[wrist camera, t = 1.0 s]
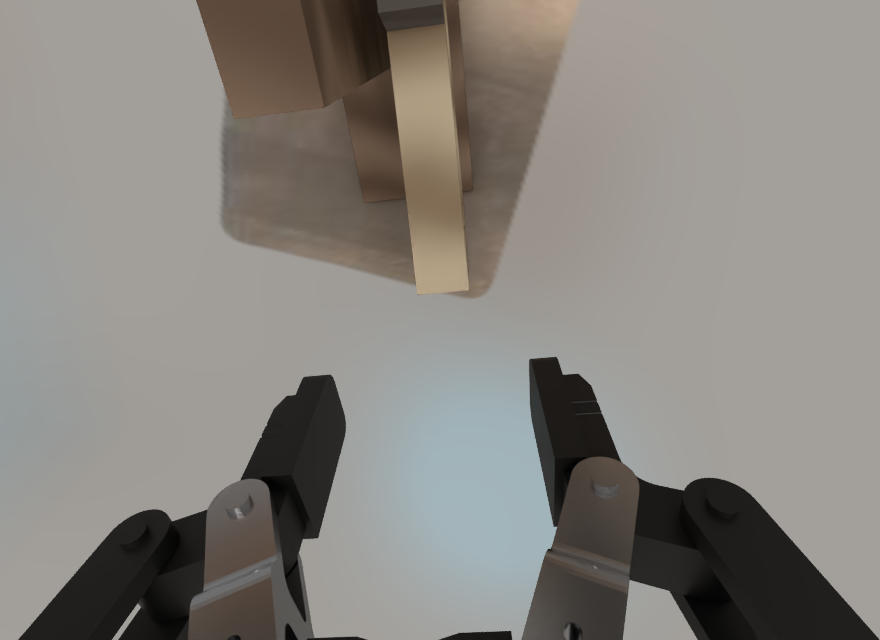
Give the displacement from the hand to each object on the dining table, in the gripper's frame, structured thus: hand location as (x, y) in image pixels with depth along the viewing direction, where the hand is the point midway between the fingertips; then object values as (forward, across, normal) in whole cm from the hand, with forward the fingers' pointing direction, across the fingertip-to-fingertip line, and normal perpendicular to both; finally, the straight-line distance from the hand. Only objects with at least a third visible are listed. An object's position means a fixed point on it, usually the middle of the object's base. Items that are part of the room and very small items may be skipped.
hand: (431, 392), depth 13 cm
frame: (+29, 0, -4) cm, 29 cm away
